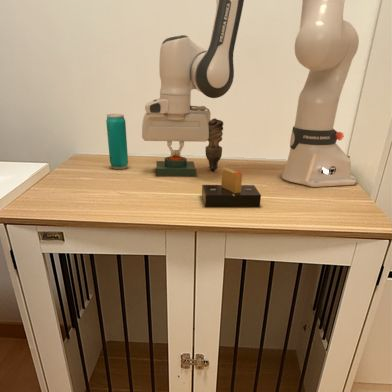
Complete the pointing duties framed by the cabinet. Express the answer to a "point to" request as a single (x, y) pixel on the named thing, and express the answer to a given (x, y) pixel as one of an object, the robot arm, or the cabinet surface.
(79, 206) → the cabinet surface
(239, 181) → the tan rectangular block
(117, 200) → the cabinet surface
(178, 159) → the button
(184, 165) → the button block
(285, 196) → the cabinet surface
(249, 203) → the panel
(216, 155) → the light bulb
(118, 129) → the beverage can
